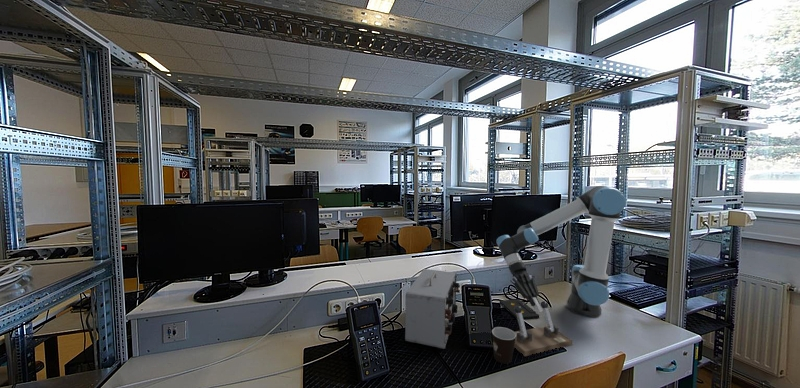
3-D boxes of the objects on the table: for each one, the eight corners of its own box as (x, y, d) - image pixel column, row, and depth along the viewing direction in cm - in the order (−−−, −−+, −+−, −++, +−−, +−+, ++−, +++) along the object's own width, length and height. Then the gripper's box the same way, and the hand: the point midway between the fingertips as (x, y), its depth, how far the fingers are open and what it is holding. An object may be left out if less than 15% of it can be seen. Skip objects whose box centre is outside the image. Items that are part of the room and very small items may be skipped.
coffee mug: (517, 367, 104) (518, 341, 103) (492, 364, 105) (493, 338, 104) (511, 347, 115) (512, 324, 114) (489, 345, 117) (489, 322, 116)
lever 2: (552, 331, 122) (543, 300, 126) (557, 332, 120) (548, 300, 124) (546, 332, 121) (538, 301, 126) (551, 333, 119) (543, 301, 123)
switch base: (548, 329, 128) (549, 318, 128) (572, 344, 117) (572, 333, 117) (504, 338, 121) (504, 327, 121) (524, 356, 110) (525, 344, 109)
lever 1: (525, 337, 118) (517, 305, 122) (530, 338, 115) (522, 305, 119) (519, 338, 117) (511, 306, 121) (524, 339, 114) (516, 306, 119)
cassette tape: (539, 319, 138) (539, 315, 138) (517, 321, 137) (517, 316, 136) (518, 302, 156) (519, 298, 156) (499, 303, 154) (499, 299, 154)
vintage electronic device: (449, 354, 111) (450, 292, 109) (405, 345, 117) (405, 286, 115) (459, 315, 141) (460, 266, 139) (424, 309, 146) (424, 262, 144)
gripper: (522, 266, 146) (546, 313, 131) (500, 269, 142) (523, 317, 127) (530, 259, 140) (556, 307, 126) (508, 262, 136) (532, 312, 122)
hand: (539, 312), depth 127 cm, fingers closed
